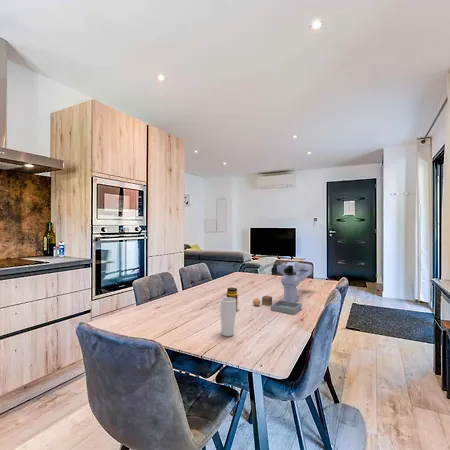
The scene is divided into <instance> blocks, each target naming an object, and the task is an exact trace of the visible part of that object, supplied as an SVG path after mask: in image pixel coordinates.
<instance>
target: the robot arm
mask: <svg viewBox="0 0 450 450" xmlns="http://www.w3.org/2000/svg"><path fill="white" fill-rule="evenodd" d="M313 269H314V268H313V265H312V264H308V263H303V262H302V263H301V262H299V261H290V262H289V261H287V263H286V262H285V261H284V262H282V263H281V264H280V265H277V264H275V263H274V264H272V267H271V269H270V272H271V273H272V274H274V275H278V273H279V274H281V279H280V281H281V282H280V283H281V285H282V287H283V298H282V299H281V300H283V301H289V302H294V303H297V302H298V301H299V298H298V288H297V287H298V286H299V285H300V282H303V281H305V280H306V279H307V278H308V277H309V276H311V275H312V273H313ZM294 273H295V274H294Z"/></svg>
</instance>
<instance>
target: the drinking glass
mask: <svg viewBox="0 0 450 450" xmlns="http://www.w3.org/2000/svg"><path fill="white" fill-rule="evenodd" d="M219 311H220V325H221V328H220V329H221V335H222V336H223V337H232V336H234V334H235V324H236V323H235V322H236V314H237V311H236V299H235V298H230V297H222V298H220V309H219Z"/></svg>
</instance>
